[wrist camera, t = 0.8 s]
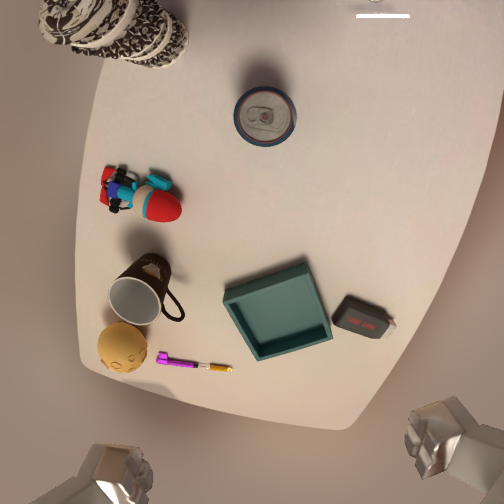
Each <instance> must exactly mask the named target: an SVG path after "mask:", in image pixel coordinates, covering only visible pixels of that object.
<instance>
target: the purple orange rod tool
mask: <svg viewBox="0 0 504 504" xmlns="http://www.w3.org/2000/svg"><path fill="white" fill-rule="evenodd" d="M156 362H157V363H159V364H165V365H175V366H182V367H190V368H195V367H196V368H198V367H206V368H210V370H214V371H216V370H218V371H232V368H228V367H224V366H216V365H210V367H207V366H198V364H194V363H188V362H180V361H173V360H169V358H168V353H162V352H159V358H157V359H156ZM230 369H231V370H230Z"/></svg>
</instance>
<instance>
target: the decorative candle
mask: <svg viewBox="0 0 504 504" xmlns="http://www.w3.org/2000/svg"><path fill="white" fill-rule="evenodd" d="M39 28H40V30H41V33H42V35H43V37H44V38H45V39H47V40H48V41H50V42H51V43H53V44H64V45H67V44H71V45H72V51H73V52H74V53H77V54H79V53H81V52H82V51H83V53H84V54H85V55H87V56H91V55H97V56H99V57H104V58H108V57H112V58H114V59H118V58H121V59H125V60H126V61H131V62H133V63H134V64H139V65H142V66H144V67H148V68H156V69H159V68H164V67H168V66H170V65H172V64H173V63H175V62H177V61H178V60H179V59H180V58H181V57H182V55H183V54H184V53H185V51H186V48H187V46H188V43H189V40H188V32H187V30H186V28H185V27H184V25H183V24H182V22H181V21H180V20H179V19H176V17H175V16H174V15H173V14H172V13H171V12H168V11H166V9H165V8H164V7H161V6H160V4H159V2H158V1H157V0H43V2H42V4H41V8H40V11H39ZM83 48H84V49H83Z"/></svg>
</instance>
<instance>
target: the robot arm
mask: <svg viewBox="0 0 504 504" xmlns="http://www.w3.org/2000/svg"><path fill="white" fill-rule="evenodd" d="M370 1H372V2H375V3H378V2H381V1H384V0H370ZM366 17H398V18H408V17H410V16H409V15H399V14H361V15H357V18H366ZM408 420H409V422H410V423H411V424H410V426H409V427H408V428H407V429H406V432H405V445H406V448H407V451H408V453H409V455H410V456H412V457H414V458H416V459H417V460H416V463H415V466H416V468H417V470H418V472H419V474H420V476H421V478H422V479H425V478H428V477H431V476H433V475H436V474H438V473H441V472H443V471H446V472H447V473H449V474H451V475H452V476H454V477H456V478H458V479H459V480H461V481H463V482H465V483H467V484H468V485H470V486H472V487H474V488H476V489H477V490H479V491H481V492H483V493H485V494H487V495H486V496H485V498H484V499H483V500H482V502H481V503H480V504H504V431H503V430H500V429H497V428H494V427H491V426H488V425H485V424H482V425H479V424H478V423H477V422H476V420H475V419H474V418H473V417H472V415H471V414H470V413H469V412H468V411H467V409H466V408H465V407H464V406H463V404H462V403H461V402H460V401H459V400H458V399H457V397H455V396H451V397H449V398H446V399H443V400H441V401H438V402H435V403H432V404H430V405H427V406H424V407H421V408H418V409H416V410H413V411H411V413H410V415H409V419H408ZM142 457H143V452H142V451H141V449H140V448H139V447H134V446H123V445H115V444H106V443H98V442H95V443H94V444H93V445H92V446H91V448H90V450H89V452H88V454H87V456H86V458H85V460H84V462H83V464H82V466H81V468H80V471H79V473H78V475H77V477H71V478H70V479H68V480H67V481H65V482H63V483H62V484H60V485H59V486H57V487H55V488H54V489H52V490H51V491H49V492H47V493H46V494H44V495H42V496H41V497H39V498H38V499H36V500H34V501H32V502H31V503H29V504H148V500H149V498H148V497H147V495H146V492H148V491H149V490H150V489H151V488H152V483H153V472H152V469H151V466H150V464H149V463H148V462H147V461H145V460H144V459H142Z"/></svg>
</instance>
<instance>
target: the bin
mask: <svg viewBox="0 0 504 504" xmlns="http://www.w3.org/2000/svg"><path fill="white" fill-rule="evenodd" d="M223 304H224V306H225V307H226V309H227V311H228V313H229V314H230V316H231V318H232V320H233V321H234V323H235V325H236V326H237V328H238V330H239V332H240V333H241V335H242V337H243V338H244V340H245V342H246V344H247V345H248V347H249V349H250V350H251V352H252V354H253V355H254V357H255V359H256V360H257V361H261V360H265V359H269V358H272V357H276V356H279V355H283V354H286V353H290V352H293V351H296V350H300V349H303V348H306V347H309V346H312V345H316V344H319V343H322V342H325V341H328V340H331V339H333V336H332V331H331V327H330V324H329V322H328V319H327V316H326V313H325V311H324V308H323V305H322V303H321V300H320V297H319V294H318V292H317V289H316V287H315V284H314V281H313V279H312V276H311V273H310V271H309V268H308V266H307V263H306V262H305V263H302V264H300V265H297V266H294V267H291V268H288V269H286V270H283V271H280V272H277V273H274V274H271V275H269V276H266V277H263V278H260V279H257V280H254V281H251V282H249V283H246V284H243V285H240V286H237V287H234V288H231V289H228V290H225V293H224V297H223Z"/></svg>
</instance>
